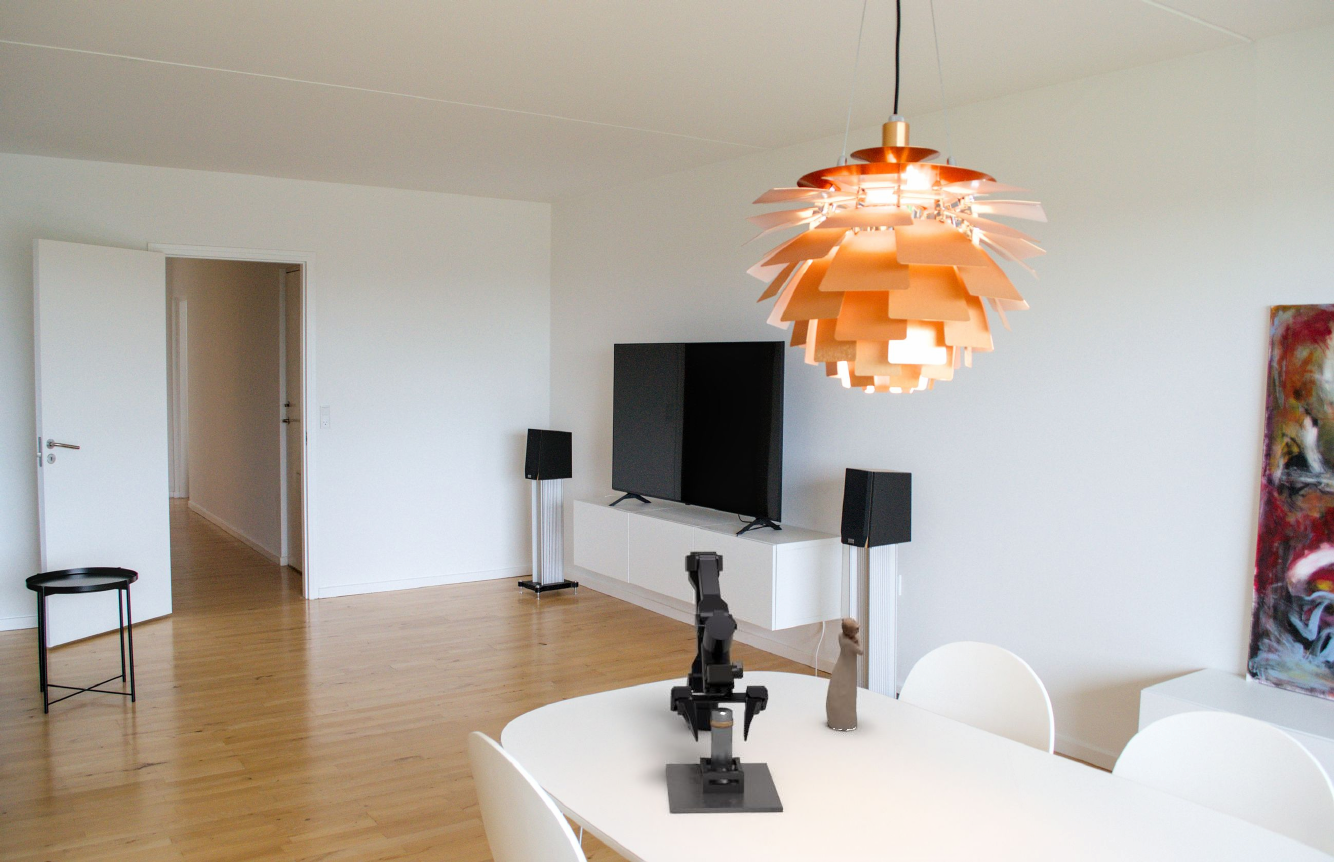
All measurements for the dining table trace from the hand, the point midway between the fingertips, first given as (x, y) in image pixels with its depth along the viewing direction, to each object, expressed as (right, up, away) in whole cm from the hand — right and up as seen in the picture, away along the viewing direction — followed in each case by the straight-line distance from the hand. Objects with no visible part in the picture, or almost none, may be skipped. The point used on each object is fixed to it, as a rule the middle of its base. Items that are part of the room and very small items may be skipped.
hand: (721, 740), depth 182 cm
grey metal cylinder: (0, -8, 0) cm, 8 cm away
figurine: (+29, -8, +33) cm, 45 cm away
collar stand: (0, -9, 0) cm, 9 cm away
